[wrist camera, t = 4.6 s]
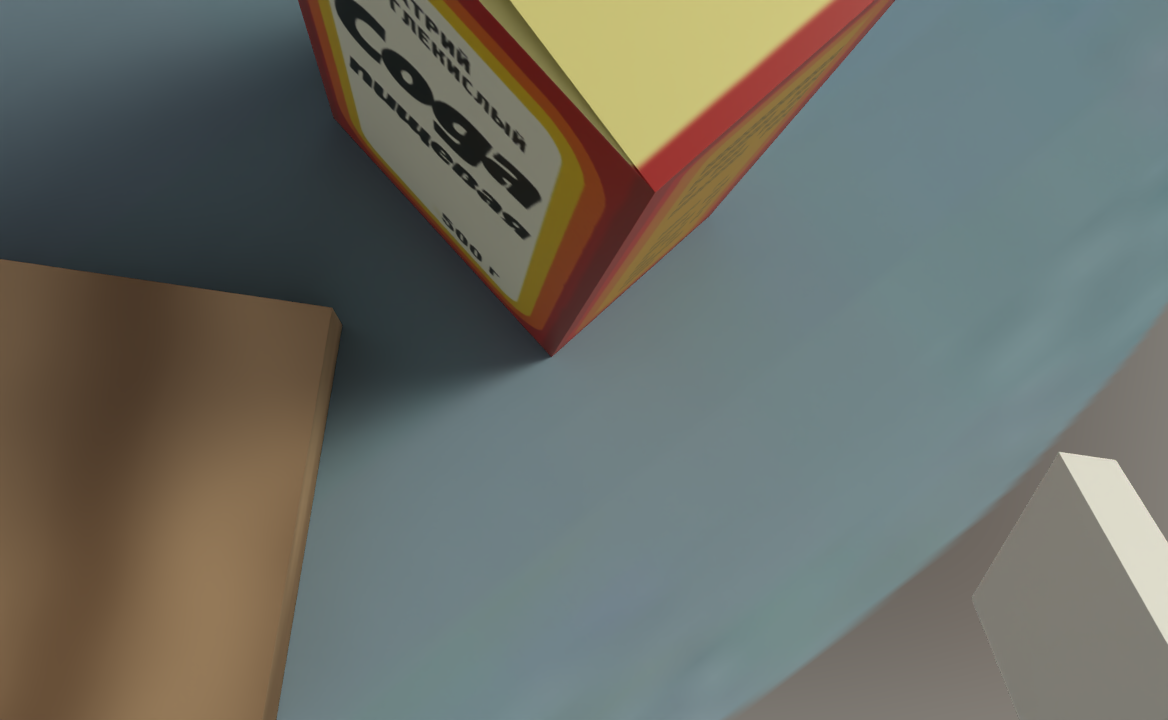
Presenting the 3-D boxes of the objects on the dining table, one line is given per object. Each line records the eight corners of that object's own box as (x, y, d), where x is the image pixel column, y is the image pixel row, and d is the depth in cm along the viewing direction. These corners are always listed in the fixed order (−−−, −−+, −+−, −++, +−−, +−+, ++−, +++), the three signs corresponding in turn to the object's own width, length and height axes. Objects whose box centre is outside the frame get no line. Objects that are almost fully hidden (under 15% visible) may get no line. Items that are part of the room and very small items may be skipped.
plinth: (-161, 680, 26) (-226, 697, 24) (-64, 265, 28) (-114, 242, 26) (275, 725, 27) (257, 747, 25) (342, 324, 29) (331, 307, 27)
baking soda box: (333, 118, 30) (203, -315, 14) (499, -13, 31) (545, -542, 16) (551, 356, 30) (661, 184, 14) (709, 215, 31) (971, -89, 15)
